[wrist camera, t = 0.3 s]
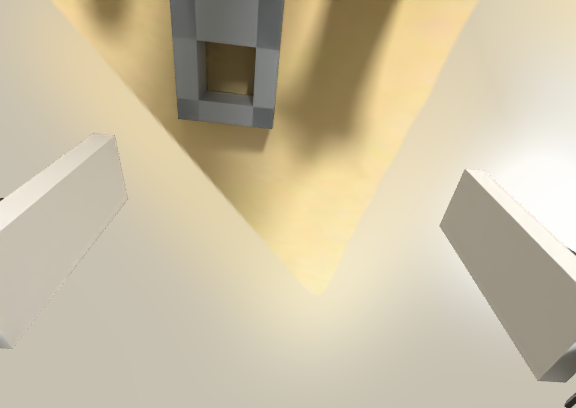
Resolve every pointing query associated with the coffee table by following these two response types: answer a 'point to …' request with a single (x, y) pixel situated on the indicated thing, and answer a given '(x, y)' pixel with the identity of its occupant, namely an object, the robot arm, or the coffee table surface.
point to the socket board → (236, 31)
